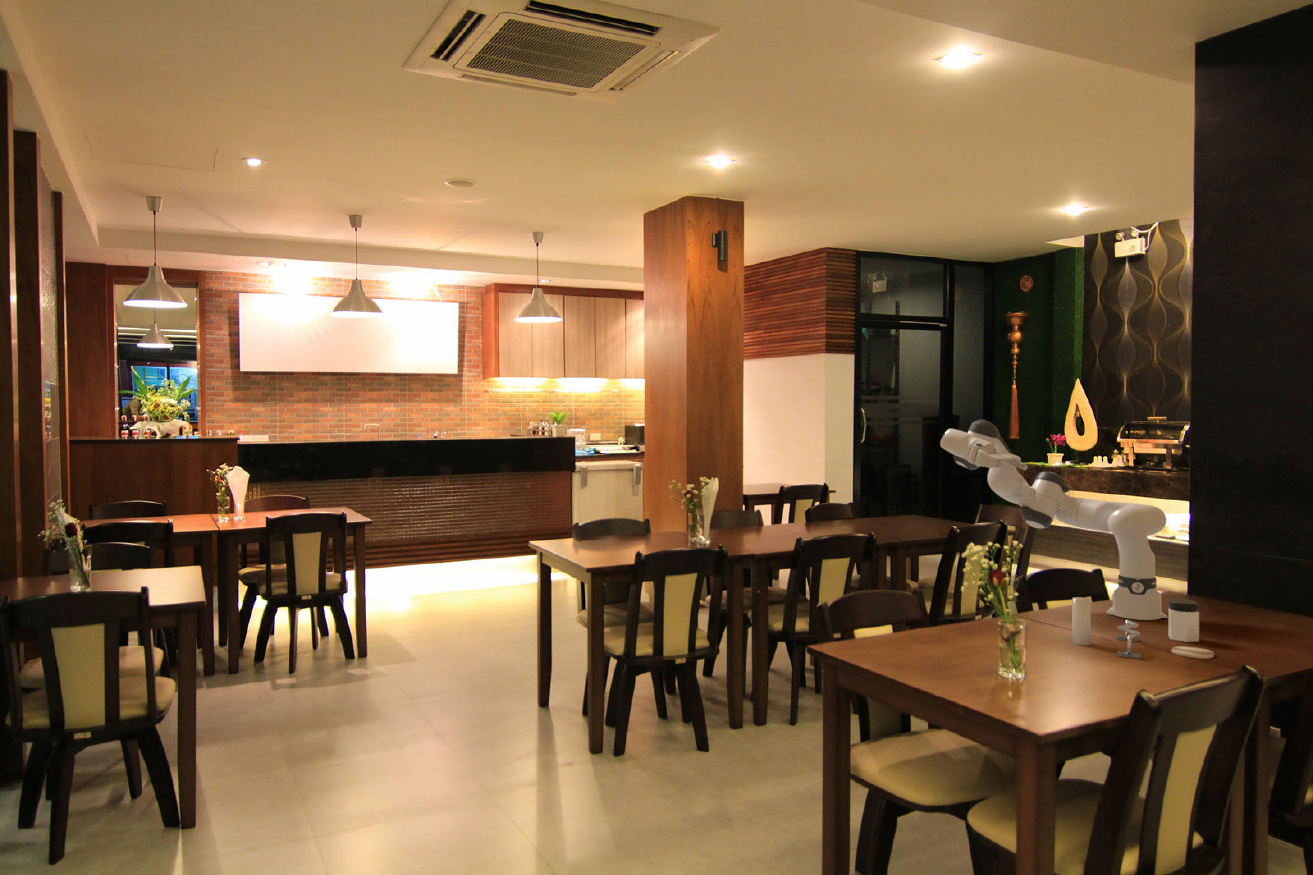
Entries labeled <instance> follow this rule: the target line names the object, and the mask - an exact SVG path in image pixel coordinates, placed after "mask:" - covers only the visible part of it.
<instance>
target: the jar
mask: <svg viewBox="0 0 1313 875" xmlns="http://www.w3.org/2000/svg"><path fill="white" fill-rule="evenodd" d="M1199 606H1200V604H1199V602H1198V601H1196V600H1192V599H1185V598H1171V599H1169V600H1168V611H1167V612H1168V615H1167V616H1168V618H1167V620H1168V621H1167V622H1168V623H1167V624H1168V627H1167V628H1168V629H1167V630H1168V632H1167V635H1168V638H1169V639H1170V640H1172V641H1177V642H1182V641H1183V643H1195V642H1197V643H1198V642H1199V641H1200V612H1199Z"/></svg>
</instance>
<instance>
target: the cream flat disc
mask: <svg viewBox="0 0 1313 875" xmlns="http://www.w3.org/2000/svg"><path fill="white" fill-rule="evenodd" d="M1170 651H1171V654H1174V655H1176V656H1180V657H1182V658H1189V659H1197V660H1199V659H1201V660H1203V659H1205V660H1207V659H1213V658H1215V652H1214V651H1212V650H1210V649H1208V648H1207V649H1206V648H1203V647H1202V648H1201V647H1196V646H1185V645H1183V646H1182V645H1181V646H1180V645H1179V646H1173V647H1171V650H1170Z"/></svg>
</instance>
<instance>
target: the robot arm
mask: <svg viewBox="0 0 1313 875" xmlns="http://www.w3.org/2000/svg"><path fill="white" fill-rule="evenodd" d="M939 443H940V447H941V448H942V449H943V450H945V451H947V452H948V453H949V454H952V456H953V460H954V462H955V464H956V465H958V466H961V467H962V468H965V469H967V470H970V471H974V470H977V469H979V468H980V467H983V468H984V467H985V468H988V471H987V472H988V473H987V483H988V486H989V487H990V489H991V491H993V492H994V493H995V494H996V495H997V496H999V497H1000V498H1002V499H1003V500H1005V501H1007V502H1008V503H1009V502H1010V503H1012V504H1016V505H1018V506H1020V507H1019V508H1018V509H1017V510H1018V513H1019V514H1020V516H1021V518H1022V520H1023V521H1024V522H1025V523H1026V524H1027V525H1028V526H1030V527H1031V528H1036V529H1042V530H1045V529H1048V528H1049V527H1050V526H1051V524H1052V523H1053V521H1054V517H1055V518H1056V520H1058V521H1059V522H1061V523H1063V524H1065V525H1068V526H1072V527H1075V528H1080V529H1086V530H1093V531H1098V532H1103V533H1111V534H1113V536H1114V539H1115V541H1116V544H1117V549H1118V554H1119V574H1118V576H1117V585H1118V586H1117V588H1115V589H1114V590H1113V592H1112V596H1111V598H1112V603H1111V604H1112V606H1111V607H1110V608H1109V609H1108V610H1107V611H1106V614H1107V615H1112V616H1117V617H1119V618H1124V619H1128V620H1130V619H1131V620H1140V621H1154V620H1156V621H1157V620H1159V619H1161V618H1167V619H1168V615H1167V614H1166V613H1165V612H1163V611H1162V593H1160V592H1159V591H1158V590H1157V577H1156V555H1155V553H1154V552H1153V550H1152V549H1151V546H1150V543H1149V540H1148V539H1149V538H1148V537H1150V536H1154V535H1156V534H1158V533H1159V532H1161V531H1162V530H1163V529H1165V527H1166V525H1167V517H1166V516H1167V515H1166V514H1165V512H1164V511H1163V510H1162V508H1159V507H1158V506H1154V505H1150V504H1149V505H1148V504H1143V503H1132V502H1130V503H1129V502H1120V501H1119V502H1118V501H1117V502H1116V501H1106V500H1099V499H1092V498H1085V497H1073V496H1069V495H1067V493H1069V491H1070V488H1069V487H1067V484H1066V482H1065V479H1064V478H1063V477H1062V476H1061V475H1059V474H1057V473H1055V472H1052V471H1045V470H1044V471H1040V472H1039V473H1038V474H1037V475H1036V476H1035V478H1034V482H1033V483H1032V486H1030V484H1029V483H1028V482H1027V480H1026V479H1025V478H1024V476H1023V475H1022V474H1020V473H1019V472H1018V470H1017V469H1018V468H1019V469H1020V470H1022V471H1027V469H1028V465H1027V464H1025V463H1023V462H1022V461H1021V457H1020V456H1018V455H1016V454H1014V453H1013V452H1012V450H1011V449H1010V448H1009V446H1008V445H1007V443H1006V442H1005V440H1004V439H1003V438H1002V436H1001V434H1000V431H999V429H998V428H997V426H996V425H994V423H992V422H990V421H988V420H986V419H978V420H975V421H973V422H971V424H970V426H969V427H968V431H967V432H966V431H963V430H960V429H955V428H948V429H947V430H946V431H945V432H944V433H943V435H942V437H941V439H940V442H939Z"/></svg>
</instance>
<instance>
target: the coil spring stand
mask: <svg viewBox="0 0 1313 875" xmlns="http://www.w3.org/2000/svg"><path fill="white" fill-rule="evenodd" d="M1139 626H1140V625H1139V623H1137V622H1135V621H1133V620H1130V619H1129V618H1125V625H1117V629H1118V630H1120V631H1124V632H1125V635H1124V634H1116V640H1117V641H1125V642H1127V651H1121V650H1118V651H1117V657H1118V656H1121V657H1120V658H1125V657H1130V658H1129V659H1135V658H1138V659H1137V660H1142V653H1141V652H1132V642H1135V641H1138V642H1139V636H1140V635H1141V632H1140V631H1138V630H1135V629H1134V628H1138V627H1139Z"/></svg>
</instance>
